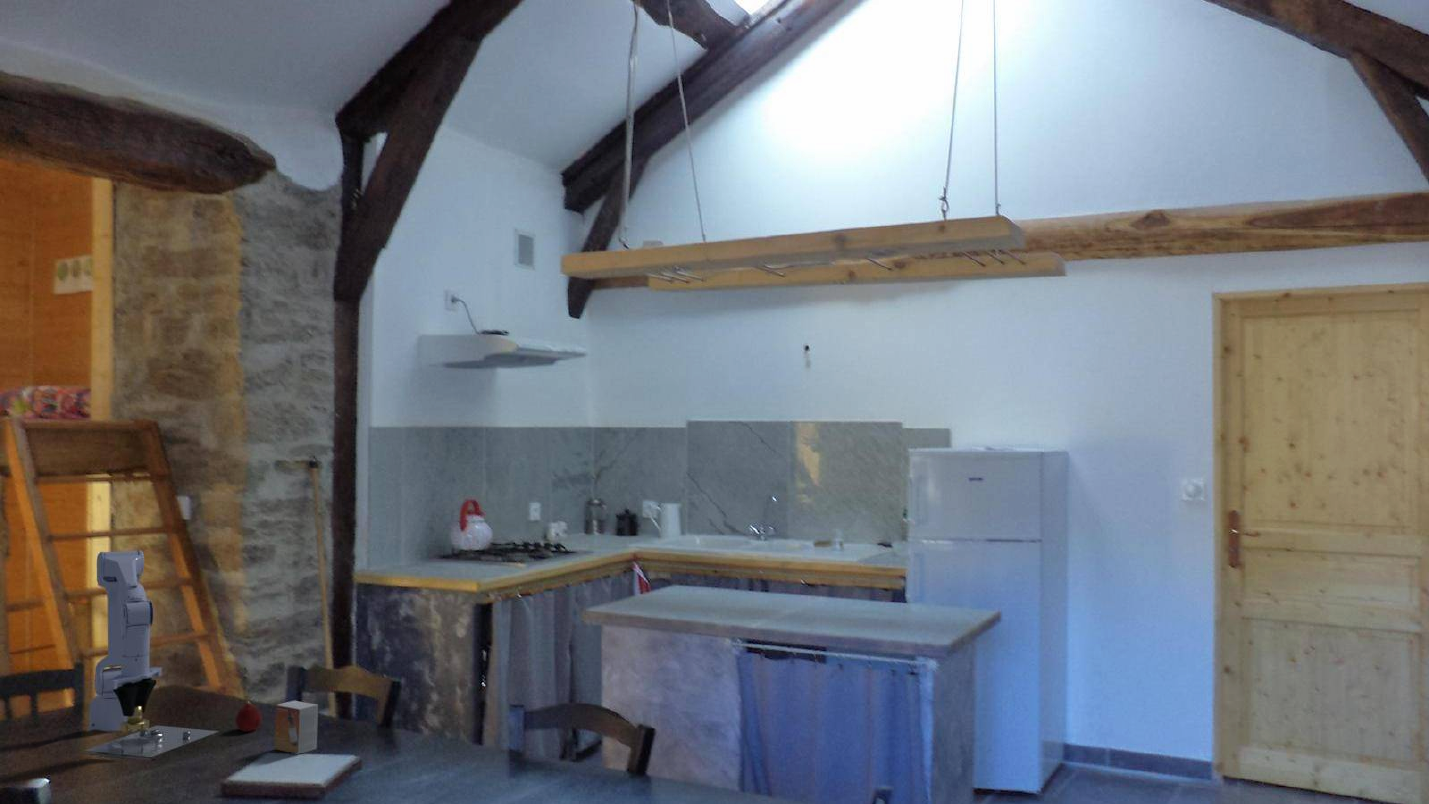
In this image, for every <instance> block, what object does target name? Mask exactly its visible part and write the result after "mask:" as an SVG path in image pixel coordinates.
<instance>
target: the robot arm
mask: <svg viewBox="0 0 1429 804" xmlns="http://www.w3.org/2000/svg"><path fill="white" fill-rule="evenodd" d="M144 569H145V555H144V552H143V551H142V550H141V549H137V550H122V551H121V550H120V551H119V550H118V551H105V552H104V551H100V552H99V553H98V554H97V558H96V582H97V586H99V587H101V588H104V589H105V593H106V596H107V655H106V656H104V658H102V659H100V661H98V662H97V663H96V666H95V669H94V670H95V671H94V672H95V673H94V683H93V684H94V685H93V686H94V692H95V694H96V695H95V696H94V697H93V698H92V700H91V702H90V704H89V722H88V723H89V725H88V730H86V732H90V731H94V730H97V731H102V732H120V724H121V723H123V722H125V721H127V716H129V717H131V716H133V713H134V705H142V714H143V713H145V711H146V709H147V705H148V701H149V699H150V696H151V694H152V692H153V690H154V688H155V687H156V685H157V679H152V678H156V677H159V678H160V677H162V673H163V670H162V669H163V668H162V667H159V666H155V667H151V668H150V649H151V648H150V647H151V627H152V626H153V622H154V618H155V611H154V609H155V608H154V605H153V601H152V600H151V599H147V595H146V594H147V593H146V591H145V587H144V586H143V585H142V584H141V583H140V579H141V577H142V575H143V573H144ZM112 667H113V668H112Z"/></svg>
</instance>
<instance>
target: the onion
mask: <svg viewBox="0 0 1429 804" xmlns="http://www.w3.org/2000/svg"><path fill="white" fill-rule="evenodd" d="M261 722H262V714H261V711H260V710H259V708H258V707H257V706H255V705H253V703H251V702H250V701H249V700H247V701H246V703H245V705H244V706H242V707H241V708H240V709H239V711H237V714H236V716H235V725H236V726H237V728H238V729H239V730H240V731H241V732H245V733H247V732H248V733H249V732H253V731H255V730H256V729H258V727H259V726H260V724H261Z"/></svg>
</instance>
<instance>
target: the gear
mask: <svg viewBox="0 0 1429 804" xmlns="http://www.w3.org/2000/svg"><path fill="white" fill-rule="evenodd" d="M147 728H150V720H149V719H147V718H146V719H145V718H143V713H142V705H134V713H133V716H131V717H129V716H127V721H125V722H123V723H121V724H120V731H121V732H122V733H128V732H132V733H136V732H139V731H140V730H145V729H147ZM120 731H119V732H120Z"/></svg>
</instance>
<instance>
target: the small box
mask: <svg viewBox="0 0 1429 804" xmlns="http://www.w3.org/2000/svg"><path fill="white" fill-rule="evenodd" d="M275 707H276V708H275V726H274V727H275V729H274V732H275V733H274V750H277V751H282V752H285V753H289V752H293V753H302V754H305V753H309V752H311V751H314V750H317V747H318V746H317V743H318V719H319V704H316V703H310V702H309V703H308V702H304V701H298V700H295V699H294V700H291V701H287V702H284V703H278V704H276V705H275ZM293 753H292V754H293Z"/></svg>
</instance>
